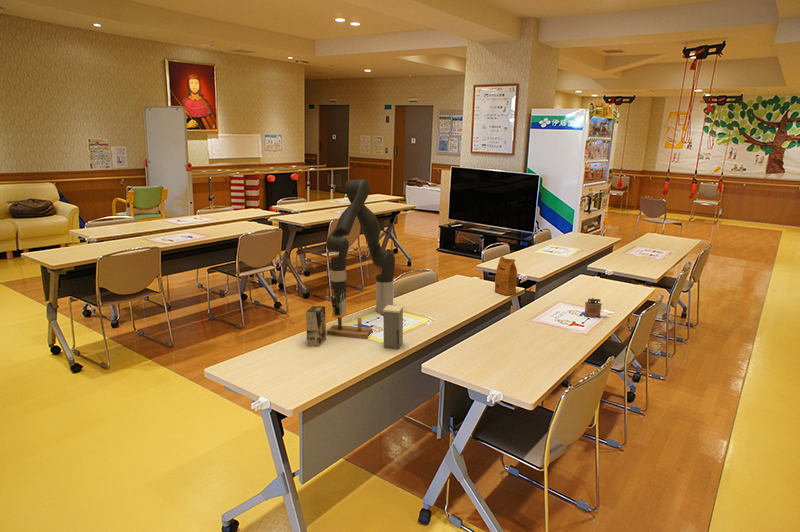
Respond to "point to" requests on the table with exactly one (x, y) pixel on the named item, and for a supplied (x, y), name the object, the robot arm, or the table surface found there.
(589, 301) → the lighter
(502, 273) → the coffee package
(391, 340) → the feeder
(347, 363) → the table surface
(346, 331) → the pin block
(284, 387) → the table surface
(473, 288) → the table surface
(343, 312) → the sleeve
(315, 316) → the coffee box
